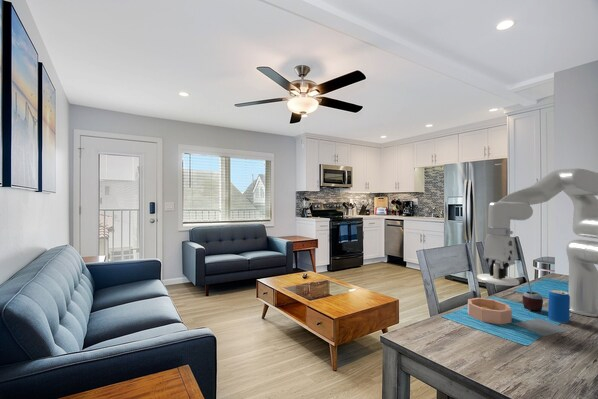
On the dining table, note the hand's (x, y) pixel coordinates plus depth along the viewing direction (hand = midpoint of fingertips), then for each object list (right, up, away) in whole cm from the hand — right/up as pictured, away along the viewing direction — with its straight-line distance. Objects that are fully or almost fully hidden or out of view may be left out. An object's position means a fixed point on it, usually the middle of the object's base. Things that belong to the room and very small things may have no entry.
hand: (497, 276), depth 122 cm
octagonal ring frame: (-2, -18, +2) cm, 18 cm away
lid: (0, -2, 0) cm, 2 cm away
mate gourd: (+21, -18, +10) cm, 30 cm away
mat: (+12, -18, -8) cm, 23 cm away
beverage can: (+24, -18, -1) cm, 30 cm away
